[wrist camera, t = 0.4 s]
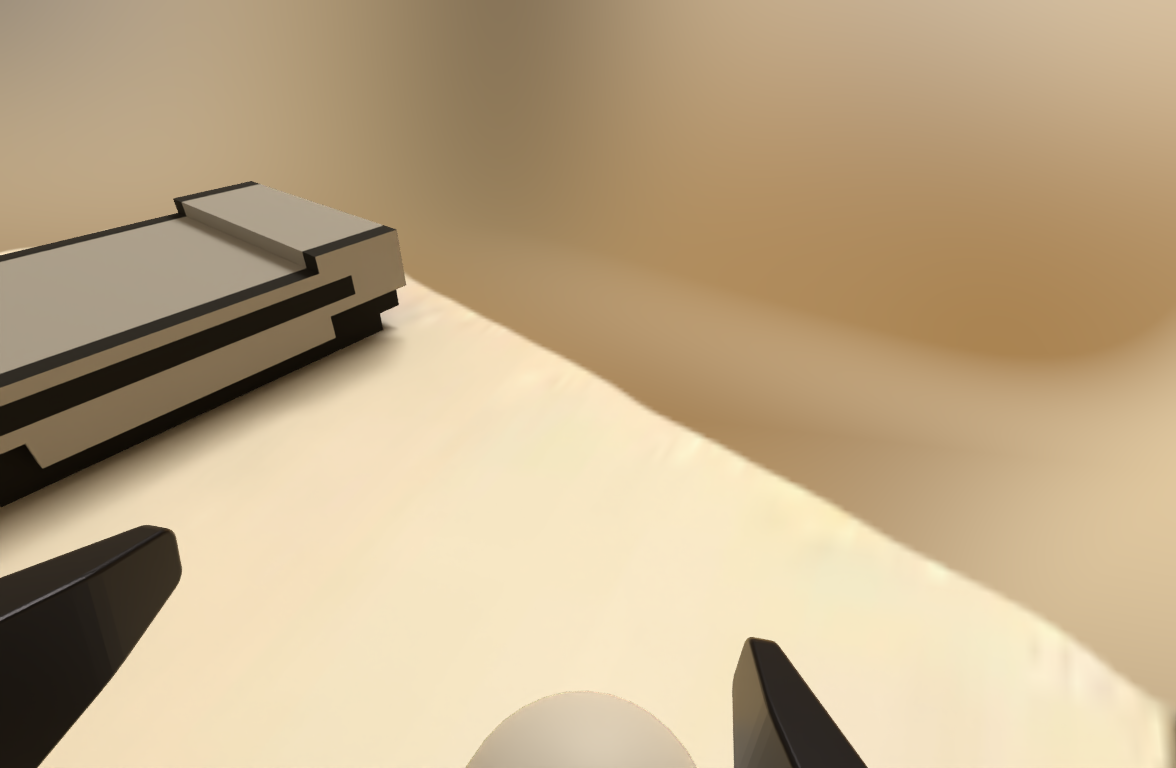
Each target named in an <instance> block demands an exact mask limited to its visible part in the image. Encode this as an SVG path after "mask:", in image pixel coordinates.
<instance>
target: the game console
mask: <svg viewBox="0 0 1176 768" xmlns="http://www.w3.org/2000/svg"><path fill="white" fill-rule="evenodd" d="M173 200H174V202H175V205H176V208H177V210H178V213H176V214H172V215H168V216H164V217H159V218H155V219H151V220H147V221H142V222H138V223H134V224H130V225H126V226H122V227H117V228H113V229H109V230H105V231H101V232H97V233H92V234H88V235H84V236H80V237H76V238H72V239H68V240H63V241H59V242H55V243H51V244H47V245H42V246H38V247H34V248H30V249H25V250H21V251H17V252H13V253H9V254H5V255H0V506H1V507H3V506H5V505H7V504H9V503H12V502H14V501H16V500H18V499H20V498H22V497H24V496H27V495H29V494H31V493H33V492H35V491H37V490H40V489H42V488H44V487H46V486H48V485H50V484H52V483H55V482H57V481H59V480H61V479H63V478H65V477H67V476H70V475H72V474H74V473H76V472H78V471H80V470H83V469H85V468H87V467H89V466H91V465H93V464H95V463H98V462H100V461H102V460H104V459H106V458H108V457H110V456H113V455H115V454H117V453H119V452H121V451H123V450H126V449H128V448H130V447H132V446H134V445H136V444H138V443H141V442H143V441H145V440H147V439H149V438H151V437H153V436H156V435H158V434H160V433H162V432H164V431H166V430H169V429H171V428H173V427H175V426H177V425H179V424H181V423H184V422H186V421H188V420H190V419H192V418H194V417H196V416H199V415H201V414H203V413H205V412H207V411H209V410H211V409H214V408H216V407H218V406H220V405H222V404H224V403H227V402H229V401H231V400H233V399H235V398H237V397H239V396H242V395H244V394H246V393H248V392H250V391H252V390H254V389H257V388H259V387H261V386H263V385H265V384H267V383H270V382H272V381H274V380H276V379H278V378H280V377H282V376H285V375H287V374H289V373H291V372H293V371H295V370H297V369H300V368H302V367H304V366H306V365H308V364H310V363H313V362H315V361H317V360H319V359H321V358H323V357H325V356H328V355H330V354H332V353H334V352H336V351H338V350H340V349H343V348H345V347H347V346H349V345H351V344H353V343H356V342H358V341H360V340H362V339H364V338H366V337H368V336H371V335H373V334H375V333H377V332H379V331H381V330H383V327H382V322H381V317H380V313H382V312H384V311H386V310H388V309H391V308H393V307H395V306H397V305H399V303H398V298H397V292H396V289H398V288H400V287H403V286H405V285H406V282H405V276H404V270H403V264H402V259H401V253H400V247H399V241H398V235H397V231H396V229H393V228H390V227H387V226H384V225H381V224H378V223H375V222H372V221H369V220H366V219H363V218H360V217H357V216H354V215H351V214H348V213H345V212H342V211H339V210H336V209H333V208H330V207H327V206H324V205H321V204H318V203H315V202H312V201H309V200H306V199H303V198H300V197H297V196H294V195H291V194H288V193H285V192H282V191H279V190H276V189H273V188H270V187H267V186H264V185H261V184H258V183H255V182H252V181H250V182H246V183H241V184H237V185H232V186H228V187H223V188H219V189H214V190H210V191H205V192H201V193H196V194H192V195H187V196H183V197H178V198H175V199H173Z"/></svg>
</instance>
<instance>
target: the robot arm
mask: <svg viewBox="0 0 1176 768" xmlns="http://www.w3.org/2000/svg"><path fill="white" fill-rule="evenodd" d="M181 574H182V566H181V561H180V556H179V550H178V545H177V540H176V536H175V534H174V532H173V531H172V530H170V529H167V528H162V527H157V526H151V525H143V526H139V527H137V528H134V529H131V530H129V531H126V532H123V533H120V534H118V535H115V536H112V537H110V538H107V539H104V540H102V541H99V542H96V543H93V544H91V545H88V546H85V547H83V548H80V549H77V550H75V551H72V552H69V553H66V554H64V555H61V556H58V557H56V558H53V559H50V560H48V561H45V562H42V563H39V564H37V565H34V566H31V567H29V568H26V569H23V570H21V571H18V572H15V573H12V574H10V575H7V576H4V577H2V578H0V768H38V766H39V765H40V764H41V763H42V762H43V760H44V759H45V758H46V757H47V756H48V754H49V753H50V752H51V751H52V750H53V748H54V747H55V746H56V745H57V744H58V742H59V741H60V740H61V739H62V738H63V737H64V735H65V734H66V733H67V732H68V731H69V729H70V728H71V727H72V726H73V725H74V723H75V722H76V721H77V720H78V719H79V717H80V716H81V715H82V714H83V713H84V711H85V710H86V709H87V708H88V707H89V705H90V704H91V703H92V702H93V701H94V699H95V698H96V697H97V696H98V695H99V693H100V692H101V691H102V690H103V688H104V687H105V686H106V685H107V683H108V682H109V681H110V680H111V678H112V677H113V676H114V675H115V673H116V672H117V671H118V669H119V668H120V666H121V665H122V664H123V662H124V661H125V660H126V658H127V657H128V655H129V654H130V653H131V651H132V650H133V648H134V647H135V645H136V644H137V643H138V641H139V640H140V638H141V637H142V635H143V634H144V632H145V631H146V630H147V628H148V627H149V625H150V624H151V622H152V621H153V620H154V618H155V617H156V615H157V614H158V612H159V611H160V610H161V608H162V607H163V605H164V604H165V602H166V601H167V600H168V598H169V597H170V595H171V594H172V592H173V591H174V589H175V588H176V586H177V585H178V583H179V581H180V578H181ZM732 697H733V740H734V768H868V767H867V766H866V765H865V763H864V762H863V760H862V759H861V758H860V756H859V755H858V754H857V752H856V751H855V749H854V748H853V747H852V745H851V744H850V743H849V741H848V740H847V739H846V737H845V736H844V734H843V733H842V732H841V730H840V729H839V728H838V726H837V725H836V723H835V722H834V721H833V719H832V718H831V717H830V715H829V714H828V712H827V711H826V710H825V708H824V707H823V706H822V704H821V703H820V701H819V700H818V699H817V697H816V696H815V695H814V693H813V692H812V691H811V689H810V688H809V686H808V685H807V684H806V682H805V681H804V680H803V678H802V677H801V675H800V674H799V673H798V671H797V670H796V669H795V667H794V666H793V664H792V663H791V662H790V660H789V659H788V658H787V656H786V655H785V653H784V652H783V651H782V649H781V648H780V647H779V645H778V644H776V643H775V642H774V641H771V640H766V639H760V638H755V637H749V638H747V640H746V641H745V643H744V646H743V649H742V652H741V655H740V658H739V661H738V664H737V668H736V671H735V674H734V678H733V688H732Z"/></svg>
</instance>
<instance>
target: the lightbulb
mask: <svg viewBox="0 0 1176 768" xmlns="http://www.w3.org/2000/svg"><path fill="white" fill-rule="evenodd" d="M466 768H697V767H696V765H695V763H694V761H693V760H692V758H691V756H690V754H689V753H688V751H687V750H686V748H685V747H684V746H683V745H682V743H681V742H680V741H679V740H678V739H677V737H676V736H675V735H674V734H673V733H672V731H671V730H670V729H669V728H668V727H667V726H665V725H664V724H663V723H662V722H661V721H660V720H658V719H657V718H656V717H655V716H654V715H652V714H651V713H650V712H648V711H646V710H645V709H643V708H641V707H639V706H638V705H636V704H634V703H632V702H631V701H628V700H625V699H622V698H619V697H616V696H614V695H611V694H605V693H599V692H592V691H575V692H563V693H559V694H555V695H551V696H547V697H543V698H541V699H539V700H537V701H535V702H533V703H530V704H528V705H526V706H524V707H522V708H521V709H519V710H518V711H516V712H515V713H514V714H512V715H511V716H509V717H508V718H506V719H505V720H504V721H503V722H502V723H501V724H500V725H499V726H498V727H497V728H496V729H495V730H494V731H493V732H492V733H491V734H490V735H489V736H488V737H487V738H486V739H485V740H484V742H483V743H482V745H481V746H480V747H479V749H478V750H477V752H476V753H475V755H474V756H473V757H472V759H471V760H470V762H469V763H468V765H467V766H466Z"/></svg>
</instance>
